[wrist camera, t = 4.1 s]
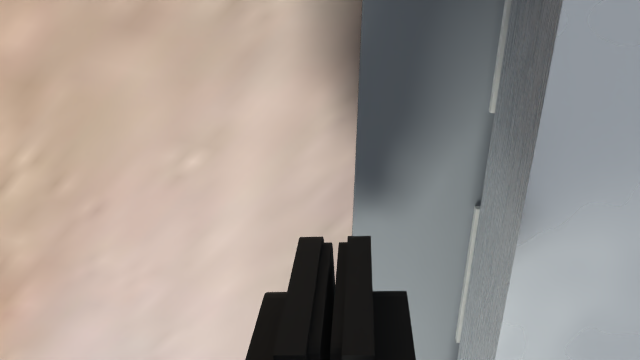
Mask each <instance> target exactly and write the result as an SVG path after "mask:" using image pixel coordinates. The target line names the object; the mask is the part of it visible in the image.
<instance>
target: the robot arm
mask: <svg viewBox="0 0 640 360" xmlns="http://www.w3.org/2000/svg"><path fill="white" fill-rule="evenodd" d="M246 360H416V356H415V349H414V341H413V334H412V326H411V319H410V311H409V304H408V296H407V292H406V291H373V286H372V255H371V236H348V242H339V248H338V260H337V272H336V284H335V276H334V261H333V246H332V243H324V239H323V237H300V238H299V242H298V246H297V251H296V255H295V260H294V264H293V269H292V273H291V278H290V282H289V286H288V291H287V292H267V293H265V295H264V298H263V301H262V305H261V308H260V311H259V315H258V318H257V322H256V325H255V329H254V332H253V336H252V339H251V342H250V346H249V349H248V353H247V356H246Z"/></svg>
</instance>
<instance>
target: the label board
mask: <svg viewBox="0 0 640 360" xmlns="http://www.w3.org/2000/svg"><path fill="white" fill-rule="evenodd" d="M511 3H512V0H363V1H362V24H361V46H360V69H359V92H358V114H357V137H356V160H355V182H354V205H353V228H352V236H371V255H372V286H373V291H406V292H407V296H408V304H409V311H410V319H411V326H412V334H413V341H414V349H415V356H416V360H457V357H458V351H459V344H460V338H461V331H462V324H463V318H464V311H465V305H466V298H467V292H468V285H469V279H470V272H471V265H472V259H473V252H474V246H475V239H476V233H477V226H478V219H479V213H480V206H481V200H482V193H483V187H484V180H485V173H486V167H487V160H488V154H489V147H490V141H491V134H492V128H493V121H494V114H495V108H496V101H497V95H498V88H499V82H500V75H501V68H502V62H503V55H504V49H505V42H506V36H507V29H508V22H509V16H510V9H511Z"/></svg>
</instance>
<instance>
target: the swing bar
mask: <svg viewBox="0 0 640 360" xmlns="http://www.w3.org/2000/svg"><path fill="white" fill-rule="evenodd" d="M457 360H640V0H512V3H511V9H510V16H509V22H508V29H507V36H506V42H505V49H504V55H503V62H502V68H501V75H500V82H499V88H498V95H497V101H496V108H495V114H494V121H493V128H492V134H491V141H490V147H489V154H488V160H487V167H486V173H485V180H484V187H483V193H482V200H481V206H480V213H479V219H478V226H477V233H476V239H475V246H474V252H473V259H472V265H471V272H470V279H469V285H468V292H467V298H466V305H465V311H464V318H463V324H462V331H461V338H460V344H459V351H458V357H457Z"/></svg>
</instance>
